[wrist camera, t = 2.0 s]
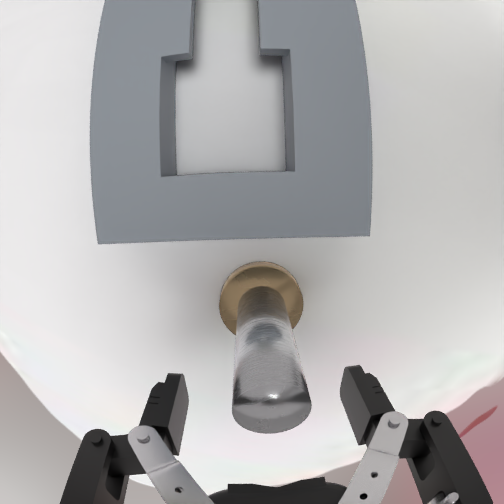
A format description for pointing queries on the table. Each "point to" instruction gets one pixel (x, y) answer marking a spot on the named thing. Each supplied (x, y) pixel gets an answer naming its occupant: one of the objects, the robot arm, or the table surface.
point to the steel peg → (265, 347)
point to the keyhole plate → (230, 183)
